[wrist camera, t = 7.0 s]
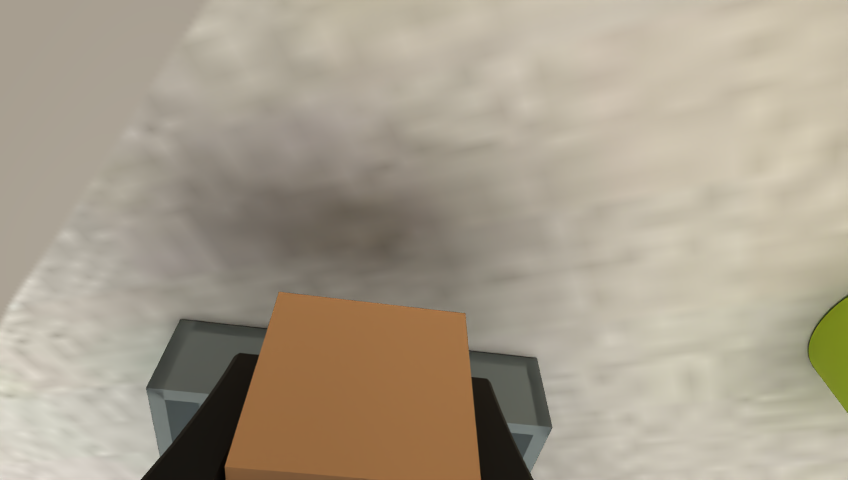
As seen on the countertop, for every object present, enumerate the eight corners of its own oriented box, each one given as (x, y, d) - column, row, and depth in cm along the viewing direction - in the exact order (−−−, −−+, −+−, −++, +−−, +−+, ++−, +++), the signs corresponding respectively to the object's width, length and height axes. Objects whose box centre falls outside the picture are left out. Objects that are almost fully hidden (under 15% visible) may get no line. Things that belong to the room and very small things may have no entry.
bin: (536, 358, 21) (552, 427, 18) (478, 499, 27) (484, 565, 24) (180, 319, 20) (146, 387, 17) (200, 476, 25) (177, 544, 23)
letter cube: (465, 313, 12) (482, 494, 9) (434, 424, 14) (438, 600, 11) (278, 291, 12) (222, 472, 8) (277, 410, 14) (233, 588, 11)
